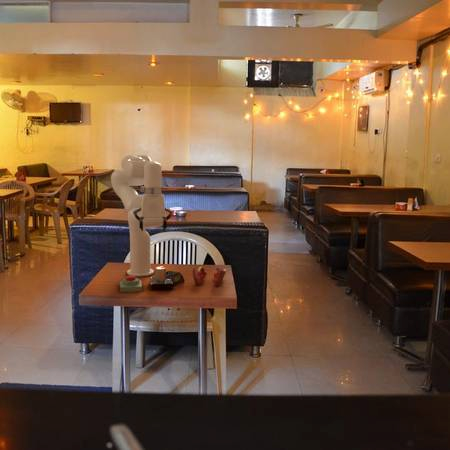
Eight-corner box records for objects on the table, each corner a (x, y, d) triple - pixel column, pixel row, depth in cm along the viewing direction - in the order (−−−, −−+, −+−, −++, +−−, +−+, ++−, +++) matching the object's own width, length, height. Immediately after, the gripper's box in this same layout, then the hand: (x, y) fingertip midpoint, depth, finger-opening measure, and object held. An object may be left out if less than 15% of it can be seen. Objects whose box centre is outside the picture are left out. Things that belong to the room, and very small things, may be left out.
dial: (156, 281, 222) (156, 268, 221) (155, 278, 226) (155, 265, 225) (166, 281, 223) (166, 268, 222) (165, 278, 227) (165, 265, 226)
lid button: (125, 279, 222) (125, 275, 222) (135, 279, 223) (135, 275, 223) (126, 281, 219) (125, 277, 218) (135, 281, 219) (135, 277, 219)
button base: (120, 285, 226) (120, 276, 225) (140, 284, 227) (140, 276, 227) (120, 292, 216) (119, 283, 215) (141, 291, 218) (141, 282, 217)
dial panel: (149, 283, 230) (149, 276, 229) (170, 282, 231) (170, 275, 231) (151, 290, 219) (151, 283, 218) (172, 289, 221) (172, 282, 220)
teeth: (195, 262, 237) (227, 264, 235) (195, 278, 239) (227, 281, 236) (190, 268, 227) (223, 271, 224) (190, 285, 229) (223, 288, 226)
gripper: (132, 192, 217) (133, 232, 220) (173, 192, 220) (173, 231, 223) (132, 190, 224) (132, 228, 227) (172, 190, 227) (172, 228, 230)
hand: (153, 230), depth 225 cm, fingers open, 9 cm apart
